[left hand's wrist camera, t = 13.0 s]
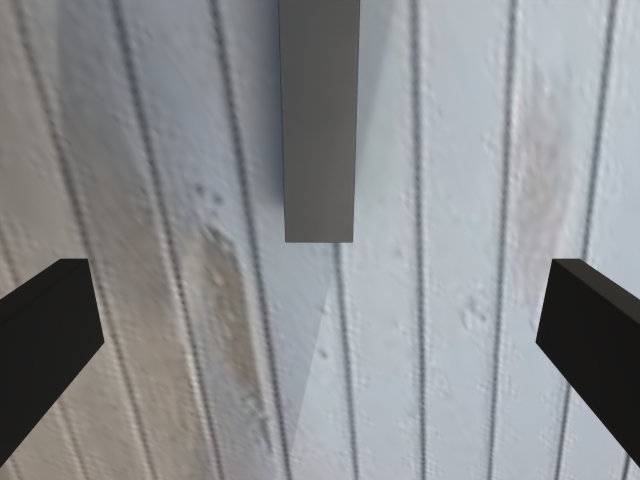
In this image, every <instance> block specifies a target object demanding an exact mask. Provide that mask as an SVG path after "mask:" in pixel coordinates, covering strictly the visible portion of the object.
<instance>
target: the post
mask: <svg viewBox="0 0 640 480" xmlns="http://www.w3.org/2000/svg"><path fill="white" fill-rule="evenodd" d="M278 4H279V39H280V75H281V110H282V146H283V182H284V217H285V242H353V222H354V188H355V155H356V121H357V87H358V54H359V20H360V0H278Z"/></svg>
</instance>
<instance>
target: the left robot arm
mask: <svg viewBox="0 0 640 480" xmlns="http://www.w3.org/2000/svg"><path fill="white" fill-rule="evenodd" d="M103 344H104V337H103V332H102V327H101V322H100V317H99V312H98V307H97V302H96V297H95V293H94V288H93V283H92V278H91V273H90V268H89V263H88V259H59V260H58V261H56V262H55V263H53V264H52V265H50V266H49V267H48V268H46V269H45V270H43V271H42V272H40V273H39V274H37V275H36V276H34V277H33V278H31V279H30V280H28V281H27V282H25V283H24V284H22V285H21V286H20V287H18V288H17V289H15V290H14V291H12V292H11V293H9V294H8V295H6V296H5V297H3V298H2V299H0V468H1V466H2V465H3V464H4V463H5V462H6V460H7V459H8V458H9V457H10V456H11V454H12V453H13V452H14V451H15V450H16V448H17V447H18V446H19V445H20V444H21V442H22V441H23V440H24V439H25V438H26V436H27V435H28V434H29V433H30V432H31V430H32V429H33V428H34V427H35V425H36V424H37V423H38V422H39V421H40V419H41V418H42V417H43V416H44V415H45V413H46V412H47V411H48V410H49V409H50V407H51V406H52V405H53V404H54V403H55V401H56V400H57V399H58V398H59V397H60V395H61V394H62V393H63V392H64V391H65V389H66V388H67V387H68V386H69V385H70V383H71V382H72V381H73V380H74V378H75V377H76V376H77V375H78V374H79V372H80V371H81V370H82V369H83V368H84V366H85V365H86V364H87V363H88V362H89V360H90V359H91V358H92V357H93V356H94V354H95V353H96V352H97V351H98V350H99V348H100V347H101V346H102V345H103ZM536 344H537V345H538V346H539V347H540V348H541V350H542V351H543V352H544V353H545V354H546V356H547V357H548V358H549V359H550V360H551V362H552V363H553V364H554V365H555V366H556V368H557V369H558V370H559V371H560V372H561V374H562V375H563V376H564V377H565V378H566V380H567V381H568V382H569V383H570V385H571V386H572V387H573V388H574V389H575V391H576V392H577V393H578V394H579V395H580V397H581V398H582V399H583V400H584V401H585V403H586V404H587V405H588V406H589V407H590V409H591V410H592V411H593V412H594V413H595V415H596V416H597V417H598V418H599V419H600V421H601V422H602V423H603V424H604V425H605V427H606V428H607V429H608V430H609V432H610V433H611V434H612V435H613V436H614V438H615V439H616V440H617V441H618V442H619V444H620V445H621V446H622V447H623V448H624V450H625V451H626V452H627V453H628V454H629V456H630V457H631V458H632V459H633V460H634V462H635V463H636V464H637V465H638V466H639V468H640V299H638V298H637V297H635V296H634V295H632V294H631V293H629V292H628V291H626V290H625V289H623V288H622V287H620V286H619V285H618V284H616V283H615V282H613V281H612V280H610V279H609V278H607V277H606V276H604V275H603V274H601V273H600V272H598V271H597V270H595V269H594V268H592V267H591V266H590V265H588V264H587V263H585V262H584V261H582V260H581V259H552V263H551V268H550V273H549V278H548V283H547V288H546V293H545V297H544V302H543V307H542V312H541V317H540V322H539V327H538V332H537V337H536Z"/></svg>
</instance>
